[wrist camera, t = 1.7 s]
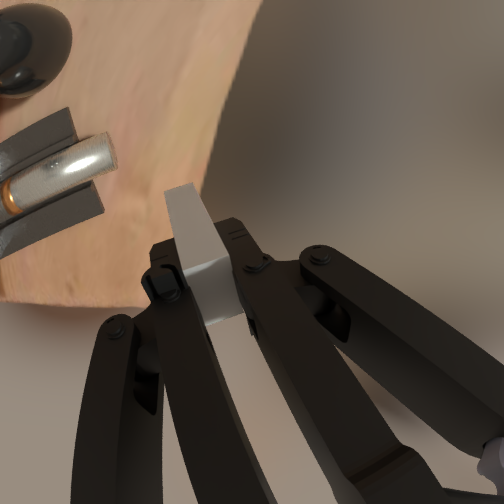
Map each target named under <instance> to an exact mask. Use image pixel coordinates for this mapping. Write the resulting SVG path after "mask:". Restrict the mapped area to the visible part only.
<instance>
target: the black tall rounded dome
mask: <svg viewBox="0 0 504 504" xmlns="http://www.w3.org/2000/svg"><path fill="white" fill-rule="evenodd" d="M71 46H72V29H71V25H70V23H69V21H68V19H67V18H66V16H65V15H64V14H63V13H62V12H60V11H59V10H57V9H55V8H53V7H51V6H47V5H43V4H37V3H23V4H16V5H12V6H9V7H6V8H3V9H0V98H4V99H19V98H24V97H28V96H31V95H33V94H35V93H37V92H39V91H41V90H42V89H44V88H45V87H46V86H48V85H49V84H50V83H51V82H52V81H53V80H54V79H55V78H56V77H57V75H58V74H59V73H60V71H61V70H62V68H63V67H64V65H65V63H66V61H67V59H68V56H69V54H70V50H71Z"/></svg>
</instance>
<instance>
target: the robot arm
mask: <svg viewBox="0 0 504 504" xmlns="http://www.w3.org/2000/svg"><path fill="white" fill-rule="evenodd" d="M164 195H165V200H166V204H167V209H168V213H169V218H170V222H171V226H172V231H173V235H174V238H171V239H168V240H165V241H162V242H160V243H157V244H154V245H153V246H152V249H151V251H150V253H149V254H150V263H151V267H150V268H149V269H148V270H147V271H146V272H145V273H144V275H143V276H142V279H141V284H142V286H143V288H144V290H145V292H146V293H147V295H148V297H149V299H150V301H151V304H150V305H149V306H148V307H147V308H146V309H145V310H144V311H143V312H141V313H140V314H138V315H137V316H136V317H134V318H131V317H130V316H127V315H125V314H118V315H114V316H112V317H110V318H108V319H107V320H106V321H105V322H104V323H103V324H102V325H101V327H100V329H99V331H98V334H97V337H96V341H95V346H94V349H93V353H92V357H91V361H90V366H89V370H88V374H87V379H86V383H85V388H84V393H83V398H82V404H81V409H80V415H79V421H78V428H77V434H76V442H75V449H74V459H73V469H72V482H71V501H70V504H163V486H162V428H163V426H162V425H163V400H164V383H165V388H166V392H167V397H168V401H169V406H170V410H171V414H172V418H173V422H174V426H175V430H176V434H177V437H178V441H179V445H180V448H181V452H182V455H183V458H184V462H185V465H186V468H187V472H188V475H189V478H190V481H191V484H192V487H193V490H194V493H195V496H196V498H197V501H198V504H278V503H277V501H276V499H275V497H274V495H273V493H272V491H271V489H270V486H269V484H268V482H267V480H266V478H265V476H264V473H263V471H262V469H261V467H260V465H259V462H258V460H257V458H256V455H255V453H254V451H253V448H252V446H251V444H250V442H249V439H248V437H247V434H246V432H245V429H244V427H243V425H242V422H241V420H240V417H239V415H238V412H237V410H236V407H235V404H234V402H233V400H232V397H231V394H230V392H229V389H228V386H227V384H226V381H225V378H224V376H223V373H222V370H221V368H220V365H219V362H218V359H217V356H216V353H215V351H214V348H213V345H212V342H211V339H210V337H209V334H208V332H207V330H206V327H205V326H208V325H210V324H213V323H216V322H219V321H222V320H225V319H227V318H230V317H233V316H236V315H238V314H241V313H244V312H243V309H244V311H245V314H246V317H247V321H248V325H249V329H250V333H251V335H254V337H255V339H256V341H257V343H258V345H259V347H260V349H261V352H262V353H263V356H264V358H265V360H266V362H267V364H268V366H269V368H270V370H271V372H272V374H273V376H274V378H275V380H276V382H277V384H278V386H279V388H280V390H281V392H282V394H283V396H284V398H285V400H286V402H287V404H288V406H289V408H290V410H291V412H292V414H293V416H294V418H295V420H296V422H297V424H298V426H299V428H300V429H301V431H302V433H303V435H304V437H305V439H306V441H307V443H308V445H309V447H310V449H311V450H312V452H313V454H314V456H315V458H316V460H317V462H318V464H319V465H320V467H321V469H322V471H323V473H324V475H325V476H326V478H327V480H328V482H329V484H330V486H331V488H332V491H333V494H334V496H335V499H336V501H337V502H338V504H504V365H503V364H501V363H500V362H499V361H497V360H496V359H495V358H494V357H492V356H491V355H490V354H488V353H487V352H486V351H484V350H483V349H482V348H480V347H479V346H477V345H476V344H475V343H474V342H472V341H471V340H469V339H468V338H467V337H465V336H464V335H463V334H461V333H460V332H458V331H457V330H456V329H454V328H453V327H451V326H450V325H449V324H447V323H446V322H444V321H443V320H441V319H440V318H439V317H437V316H436V315H434V314H433V313H432V312H430V311H429V310H427V309H426V308H424V307H423V306H421V305H420V304H419V303H417V302H416V301H414V300H413V299H411V298H410V297H408V296H407V295H405V294H404V293H402V292H401V291H399V290H398V289H396V288H395V287H393V286H392V285H390V284H388V283H387V282H386V281H384V280H383V279H381V278H379V277H378V276H376V275H375V274H373V273H372V272H370V271H369V270H367V269H366V268H364V267H362V266H361V265H359V264H358V263H356V262H355V261H353V260H351V259H350V258H348V257H347V256H345V255H344V254H342V253H340V252H339V251H337V250H336V249H334V248H332V247H329V246H326V245H313V246H310V247H308V248H306V249H304V250H303V251H302V252H301V254H300V256H299V260H292V261H276V260H274V259H273V258H272V257H271V256H270V255H268V254H265V253H263V252H262V251H261V249H260V248H259V246H258V245H257V244H256V242H255V241H254V239H253V238H252V236H251V235H250V234H249V232H248V231H247V229H246V228H245V226H244V225H243V223H242V222H241V221H240V220H237V219H235V218H233V217H232V218H229V219H226V220H223V221H220V222H217V223H213V222H212V220H211V218H210V216H209V214H208V213H207V210H206V208H205V206H204V204H203V202H202V200H201V198H200V196H199V194H198V192H197V190H196V188H195V186H194V184H193V182H192V183H189V184H186V185H182V186H179V187H176V188H173V189H170V190H167V191H164ZM242 307H243V308H242ZM333 344H334V345H335V346H336V347H337V348H339V349H340V350H341V351H342V352H343V353H344V354H346V356H348V357H349V358H350V359H351V360H352V361H353V362H355V363H356V364H357V365H358V366H359V367H360V368H361V369H363V370H364V371H365V372H366V373H367V374H368V375H370V376H371V377H372V378H373V379H374V380H376V381H377V382H378V383H379V384H380V385H381V386H382V387H384V388H385V389H386V390H387V391H388V392H389V393H391V394H392V395H393V396H394V397H395V398H397V399H398V400H399V401H400V402H401V403H403V404H404V405H405V406H406V407H407V408H408V409H410V410H411V411H412V412H413V413H414V414H415V415H417V416H418V417H419V418H420V419H422V420H423V421H424V422H425V423H426V424H427V425H429V426H430V427H431V428H432V429H433V430H435V431H436V432H437V433H438V434H439V435H441V436H442V437H443V438H444V439H445V440H447V441H448V442H449V443H451V444H452V445H453V446H455V447H456V448H457V449H459V450H461V451H463V452H465V453H467V454H468V455H471V456H474V457H477V458H480V459H481V460H480V461H479V463H478V465H477V471H478V473H479V474H480V475H484V476H485V477H486V478H487V479H489V480H491V481H492V482H493V483H494V484H495V486H496V488H497V495H490V494H480V493H474V492H467V491H460V490H454V489H449V488H442V486H441V485H440V483H439V482H438V480H437V479H436V477H435V476H434V474H433V473H432V471H431V469H430V468H429V466H428V465H427V463H426V462H425V460H424V459H423V458H422V457H421V456H420V455H419V453H418V452H416V451H415V450H414V449H413V448H411V447H408V446H405V445H403V444H402V443H401V442H399V440H398V439H397V438H396V437H395V435H394V433H393V432H392V430H391V429H390V427H389V426H388V424H387V423H386V421H385V420H384V418H383V417H382V415H381V414H380V413H379V411H378V409H377V408H376V406H375V405H374V403H373V402H372V401H371V399H370V398H369V396H368V395H367V393H366V392H365V390H364V389H363V387H362V386H361V384H360V383H359V381H358V380H357V378H356V377H355V375H354V374H353V373H352V371H351V369H350V368H349V367H348V365H347V364H346V362H345V361H344V359H343V358H342V356H341V355H340V354H339V352H338V351H337V349H336V348H335V346H334V345H333Z"/></svg>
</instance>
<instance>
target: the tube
mask: <svg viewBox="0 0 504 504" xmlns="http://www.w3.org/2000/svg"><path fill="white" fill-rule="evenodd" d="M117 169H118V161H117V156H116V152H115V149H114V145H113V142H112V140H111V137H110V135H109V133H108V132H107V131H106V132H103V133H101V134H98V135H96V136H94V137H91V138H89V139H86V140H84V141H82V142H79V143H77V144H75V145H73V146H70V147H68V148H66V149H64V150H62V151H60V152H57V153H55V154H53V155H51V156H49V157H47V158H45V159H43V160H41V161H39V162H37V163H35V164H34V165H32V166H30V167H28V168H26V169H24V170H23V171H21V172H19V173H17V174H15V175H14V176H12V177H10V178H8V179H7V180H5V181H3V182H2V183H0V224H1V223H3V222H4V221H6V220H8V219H10V218H12V217H13V216H15V215H17V214H19V213H21V212H23V211H25V210H27V209H29V208H31V207H33V206H35V205H37V204H39V203H41V202H43V201H45V200H47V199H49V198H51V197H53V196H55V195H57V194H60V193H62V192H64V191H66V190H68V189H71V188H73V187H75V186H77V185H80V184H82V183H84V182H87V181H89V180H92V179H94V178H97V177H99V176H102V175H104V174H107V173H109V172H112V171H114V170H117Z"/></svg>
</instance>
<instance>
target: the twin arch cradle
mask: <svg viewBox="0 0 504 504" xmlns="http://www.w3.org/2000/svg"><path fill="white" fill-rule="evenodd" d="M77 143H79V140H78V137H77V134H76V130H75V127H74V124H73V121H72V117H71V114H70V111H69V107H66V108H64V109H62V110H60V111H58V112H56V113H54V114H52V115H50V116H48V117H46V118H44V119H42V120H40V121H38V122H36V123H34V124H32V125H31V126H29V127H27V128H25V129H24V130H22V131H20V132H18V133H17V134H15V135H13V136H12V137H10V138H8V139H7V140H5V141H3V142H2V143H0V183H2V182H3V181H5V180H7V179H8V178H10V177H12V176H14V175H15V174H17V173H19V172H21V171H23V170H24V169H26V168H28V167H30V166H32V165H34V164H35V163H37V162H39V161H41V160H43V159H45V158H47V157H49V156H51V155H53V154H55V153H57V152H60V151H62V150H64V149H66V148H68V147H70V146H73V145H75V144H77ZM104 210H105V209H104V207H103V204H102V202H101V200H100V197H99V195H98V192H97V190H96V187H95V184H94V182H93V179H92V180H89V181H87V182H84V183H82V184H80V185H77V186H75V187H73V188H71V189H68V190H66V191H64V192H62V193H60V194H57V195H55V196H53V197H51V198H49V199H47V200H45V201H43V202H41V203H39V204H37V205H35V206H33V207H31V208H29V209H27V210H25V211H23V212H21V213H19V214H17V215H15V216H13V217H12V218H10V219H8V220H6V221H4V222H3V223H1V224H0V259H2V258H4V257H6V256H8V255H10V254H12V253H14V252H16V251H18V250H20V249H22V248H24V247H26V246H28V245H31V244H33V243H35V242H37V241H39V240H41V239H43V238H46V237H48V236H50V235H52V234H55V233H57V232H59V231H61V230H64V229H66V228H68V227H71V226H73V225H75V224H78V223H80V222H83V221H85V220H88V219H90V218H92V217H95V216H97V215H100V214H103V213H104Z"/></svg>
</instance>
